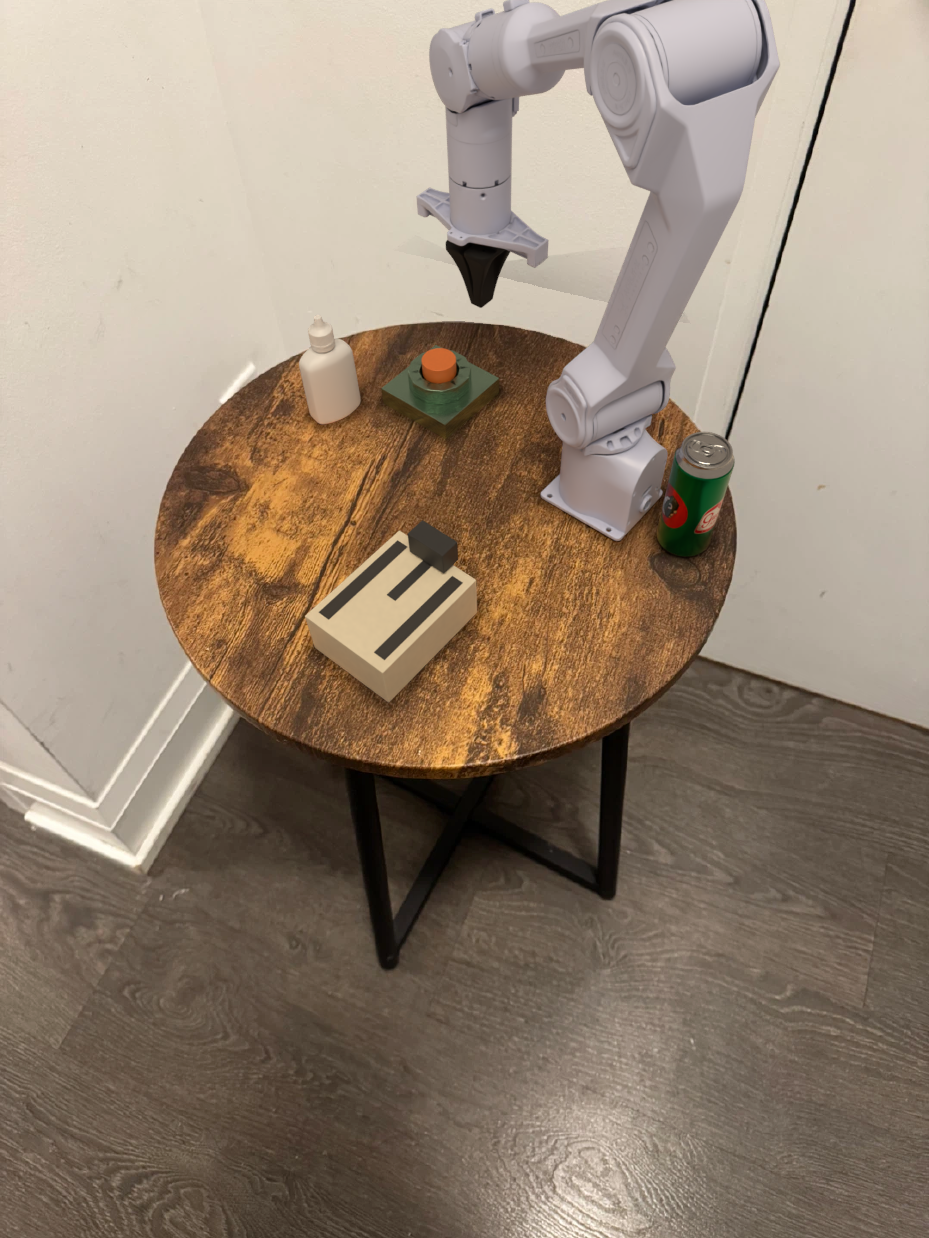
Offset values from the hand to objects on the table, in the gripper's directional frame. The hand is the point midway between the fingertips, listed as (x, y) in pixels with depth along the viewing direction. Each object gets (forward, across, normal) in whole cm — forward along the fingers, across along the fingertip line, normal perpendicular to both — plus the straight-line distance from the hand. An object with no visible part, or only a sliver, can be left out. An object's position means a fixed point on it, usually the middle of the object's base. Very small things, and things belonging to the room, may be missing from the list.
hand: (481, 301), depth 91 cm
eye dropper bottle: (+10, -9, -14) cm, 19 cm away
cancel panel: (+9, -1, -6) cm, 11 cm away
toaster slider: (+4, +15, -26) cm, 30 cm away
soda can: (+10, +30, -7) cm, 32 cm away
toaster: (+9, +16, -32) cm, 36 cm away
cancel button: (+6, -1, -6) cm, 8 cm away
